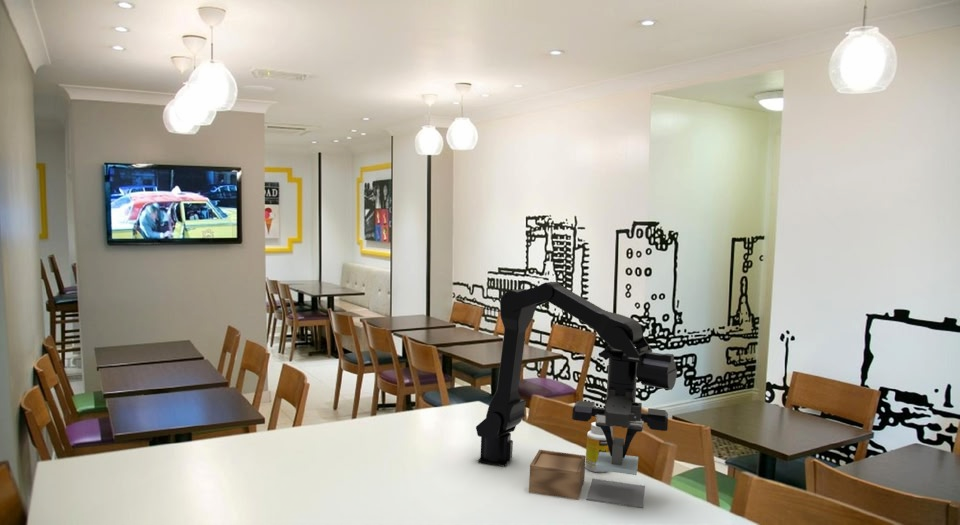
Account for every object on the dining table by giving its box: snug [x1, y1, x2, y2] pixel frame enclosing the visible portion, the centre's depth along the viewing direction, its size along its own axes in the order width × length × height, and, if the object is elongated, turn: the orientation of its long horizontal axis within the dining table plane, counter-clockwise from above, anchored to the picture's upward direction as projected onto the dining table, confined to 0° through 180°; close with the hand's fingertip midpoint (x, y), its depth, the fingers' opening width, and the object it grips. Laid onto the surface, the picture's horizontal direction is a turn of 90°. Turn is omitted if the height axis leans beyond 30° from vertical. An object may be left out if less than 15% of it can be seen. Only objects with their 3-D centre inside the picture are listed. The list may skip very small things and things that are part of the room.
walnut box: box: [528, 449, 586, 500], centre depth 136 cm, size 10×10×6 cm
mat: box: [585, 478, 646, 509], centre depth 134 cm, size 11×11×1 cm
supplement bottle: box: [585, 421, 610, 474], centre depth 147 cm, size 6×6×10 cm
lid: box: [595, 436, 639, 476], centre depth 134 cm, size 8×8×5 cm
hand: (617, 456), depth 134 cm, fingers closed on lid
